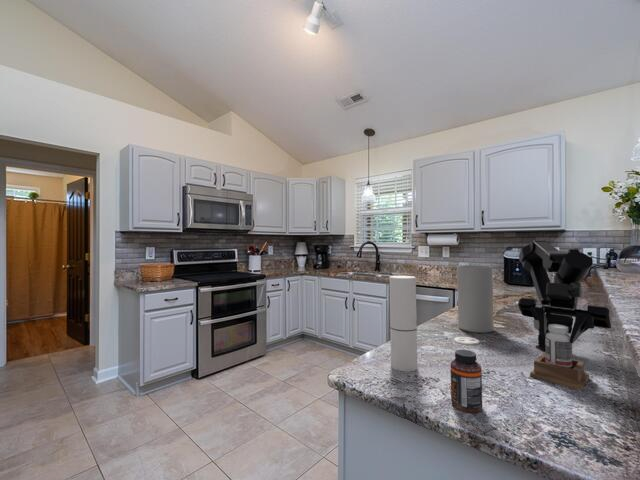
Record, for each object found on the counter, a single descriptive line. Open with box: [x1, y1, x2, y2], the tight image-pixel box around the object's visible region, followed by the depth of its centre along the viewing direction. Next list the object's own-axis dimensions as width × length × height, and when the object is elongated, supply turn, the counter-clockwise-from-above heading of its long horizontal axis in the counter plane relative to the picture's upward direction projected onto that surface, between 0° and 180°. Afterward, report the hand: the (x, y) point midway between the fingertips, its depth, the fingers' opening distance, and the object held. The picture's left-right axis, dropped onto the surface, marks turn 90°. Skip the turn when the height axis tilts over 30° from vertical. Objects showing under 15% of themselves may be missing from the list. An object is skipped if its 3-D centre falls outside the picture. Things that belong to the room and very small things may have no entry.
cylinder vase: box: [456, 264, 495, 334], centre depth 121 cm, size 12×12×25 cm
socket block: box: [529, 352, 590, 391], centre depth 77 cm, size 10×10×4 cm
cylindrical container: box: [388, 275, 418, 372], centre depth 85 cm, size 7×7×25 cm
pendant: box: [453, 336, 487, 346], centre depth 106 cm, size 7×11×1 cm, turn 94°
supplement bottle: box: [450, 349, 483, 414], centre depth 64 cm, size 6×6×11 cm
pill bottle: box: [544, 324, 573, 368], centre depth 77 cm, size 5×5×10 cm
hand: (556, 339), depth 76 cm, fingers closed on pill bottle, 5 cm apart
